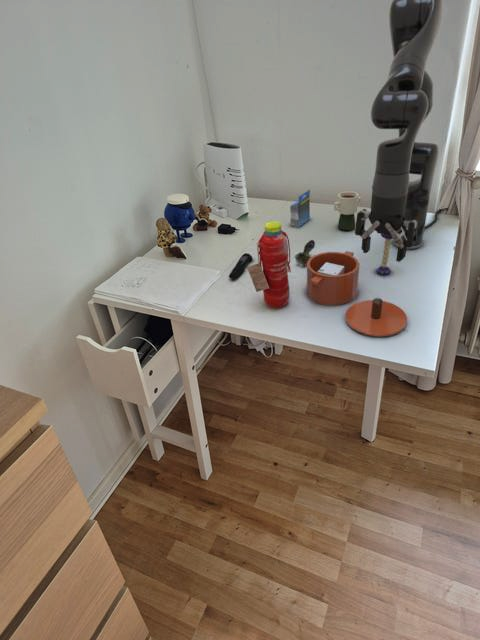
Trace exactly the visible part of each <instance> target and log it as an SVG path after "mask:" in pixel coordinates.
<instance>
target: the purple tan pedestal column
mask: <svg viewBox="0 0 480 640" xmlns="http://www.w3.org/2000/svg"><path fill="white" fill-rule="evenodd" d="M380 236H381V238H383V239H384V240H385V241H384V246H383V252H382V253H383V254H382V259H381V264H380V266H378V267H377V268H376V270H375V272H376V274H377V275H379V276H383V277H384V276H389V275H390V274H391V269H390V267H388V262H389V256H390V255H389V254H390V249H391V244H392V240H393V237H392V236H391V235H390V236H388V235H385V234H380Z"/></svg>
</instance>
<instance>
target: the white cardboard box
mask: <svg viewBox="0 0 480 640" xmlns="http://www.w3.org/2000/svg"><path fill="white" fill-rule="evenodd" d="M318 273H320V274H325V275H342V274H344V273H345V266H341V265H336V264H331V263H327V262H326V263H325V264H324V265H323V266H322V267H321V268H320V269H319V270H318Z"/></svg>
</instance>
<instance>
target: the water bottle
mask: <svg viewBox="0 0 480 640" xmlns="http://www.w3.org/2000/svg"><path fill="white" fill-rule="evenodd" d="M256 247H257V249H256V250H257V262H258V263H255V264H252V265H250V266H247V267H246V269H247V272H248V274H249V276H250V279H251V282H252V284H253V287H254V290H255V292H256V293H258V292H261V291H263V300H264V302H265V304H267V306H269V307H270V308H275V309H279V308H282V307H285V306H286V304H287V303H288V301H289V299H290V283H289V275H288V273H291V271H292V270H291V265H290V263H291V247H290V239H289V236H288V234H287V233H286V231H284V230H282V223H281V222H279V221H277V220H273V221H268V222H266V223H265V224H264V231H263V233H262V234H261V237H260V238H259V239H258V241H257V243H256Z"/></svg>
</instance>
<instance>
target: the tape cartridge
mask: <svg viewBox="0 0 480 640" xmlns="http://www.w3.org/2000/svg"><path fill="white" fill-rule="evenodd" d="M310 195H311V189H308V190H307V191H305V192H303V193H302V194H301V195H299V196H298V197H297V198H298V200H297V201H295V202H294V203H293V204H291V205H290V206H289V207H290V208H289V209H290V211H289V212H290V227H292V228H293V227H294V228H300V227H301V226H302V225H304V224H306V223H307V222H308V221H309V220H310V219H311V218H310V217H311V211H310V210H311V209H310V205H311V204H310V201H311V200H310Z"/></svg>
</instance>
